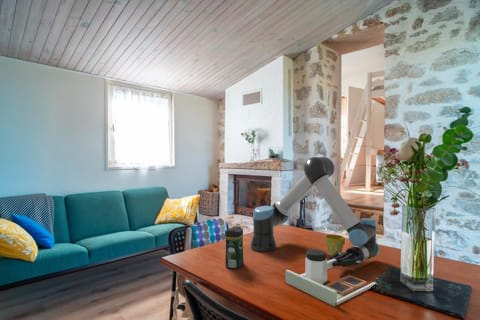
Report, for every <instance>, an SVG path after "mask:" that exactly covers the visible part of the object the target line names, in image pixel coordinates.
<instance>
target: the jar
mask: <svg viewBox="0 0 480 320" xmlns="http://www.w3.org/2000/svg"><path fill="white" fill-rule="evenodd" d="M305 253H306V254H305V255H306V257H305V259H304V260H305V263H304V264H305V267H304V268H305V269H304V270H305V271H304V273H305V277H306V278H308V279H310V280H313V281H315V282H317V283H319V284H322V285H324V284H325V283H327V282H328V269H327V261H328V258H327V253H326V251H325V250H321V249H316V248H315V249H314V248H313V249H312V248H311V249H308V250H306V252H305Z"/></svg>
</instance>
